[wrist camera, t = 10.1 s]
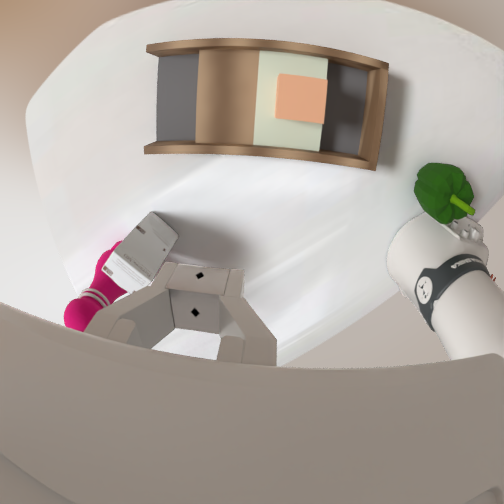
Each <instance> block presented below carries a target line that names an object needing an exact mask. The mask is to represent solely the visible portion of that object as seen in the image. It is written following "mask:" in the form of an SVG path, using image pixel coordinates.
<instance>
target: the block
mask: <svg viewBox="0 0 504 504" xmlns="http://www.w3.org/2000/svg"><path fill="white" fill-rule="evenodd" d="M327 83H328V80H326V79H320V78H313V77H306V76H299V75H290V74H281V73H279V75H278V77H277V89H276V103H275V116H274V117H275V118H277V119H288V120H297V121H305V122H313V123H320V124H324V116H325V106H326V95H327Z"/></svg>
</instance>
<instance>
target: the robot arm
mask: <svg viewBox="0 0 504 504" xmlns="http://www.w3.org/2000/svg"><path fill="white" fill-rule="evenodd" d="M482 241H483V228H482V227H481V226H480V225H479V224H478V223H476V222H475V221H473V220H471V219H469V218H468V217H464V218H462V219H459V220H456V219H454V220H453V221H452V223H449V224H446V225H445V224H440V223H439V222H437V221H436V220H435V219H434V218H432V217H431V216H430V215H429V214H427V213H426V212H424V213H422V214H421V215H419V216H417V217H415V218H413V219H412V220H410V221H409V222H407V223H406V224H405V225H404V226H403V227H402V228H401V229H400V230H399V231H398V233H397V234H396V236H395V237H394V239H393V241H392V243H391V245H390V247H389V250H388V254H387V269H388V272H389V274H390V276H391V277H392V279H393V280H394V281H395V282H396V283H397V284H398V285H399V289H400V293H401V294H402V295H403V296H404V297H405V298H407V297H408V298H409V300H410V301H411V302H412V303H413V305H414V306H415V307H416V309H417V310H418V311H419V312H420V314H421V315H423V317H424V320H425V322H426V323H427V325H428V326H429V327H430V328H431V330H433V331H434V332H436V334H437V336H438V337H439V339H440V341H441V343H442V345H443V347H444V349H445V350H446V352H447V354H448V356H449V358H450V361H443V362H436V363H427V364H418V365H407V366H394V367H376V368H294V367H277V366H276V357H277V339H276V338H275V337H274V336H273V334H272V333H271V332H270V330H269V329H268V328H267V327H266V325H265V324H264V323H263V322H262V320H261V319H260V318H259V316H258V315H257V314H256V313H255V311H254V310H253V309H252V307H251V306H250V305H249V304H248V302H247V301H246V300H245V298H243V293H244V279H245V271H244V270H241V269H224V268H212V267H205V266H197V265H189V264H181V263H173V262H166V263H164V265H163V266H162V268H161V270H160V271H159V273H158V275H157V276H156V278H155V280H154V281H153V283H152V285H151V286H146V287H144V288H142V289H140V290H138V291H136V292H134V293H132V294H130V295H128V296H126V297H124V298H122V299H120V300H118V301H117V302H115V303H113V304H111V305H109V306H107V307H105V308H103V309H101V310H99V311H97V312H96V314H95V315H94V317H93V318H92V320H91V321H90V323H89V324H88V326H87V327H86V329H85V331H84V332H81V331H78V330H74V329H71V328H68V327H65V326H62V325H59V324H56V323H53V322H50V321H47V320H44V319H42V318H39V317H36V316H34V315H31V314H28V313H26V312H23V311H21V310H18V309H16V308H13V307H11V306H9V305H6V304H4V303H2V302H0V504H504V292H503V291H502V290H501V289H500V288H499V287H498V286H497V284H496V283H495V282H494V281H495V279H496V277H495V278H494V279H493V280H492V278H493V274H492V275H491V276H490V274H489V272H488V270H487V268H486V265H487V261H488V248H487V246H486V245H485V244H484V243H483V242H482ZM175 328H180V329H188V330H196V331H202V332H208V333H215V334H220V337H221V342H220V347H219V351H218V355H217V360H210V359H204V358H197V357H191V356H185V355H179V354H173V353H168V352H163V351H157V350H152V349H151V348H152V347H154V346H155V345H156V344H157V343H158V342H160V341H161V340H162V339H163V338H164V337H166V336H167V335H168V334H169V333H170V332H172V331H173V330H174V329H175Z"/></svg>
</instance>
